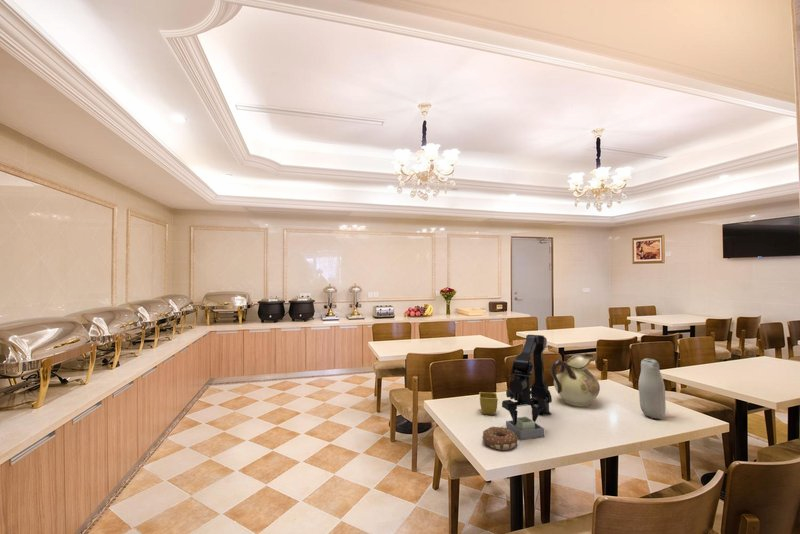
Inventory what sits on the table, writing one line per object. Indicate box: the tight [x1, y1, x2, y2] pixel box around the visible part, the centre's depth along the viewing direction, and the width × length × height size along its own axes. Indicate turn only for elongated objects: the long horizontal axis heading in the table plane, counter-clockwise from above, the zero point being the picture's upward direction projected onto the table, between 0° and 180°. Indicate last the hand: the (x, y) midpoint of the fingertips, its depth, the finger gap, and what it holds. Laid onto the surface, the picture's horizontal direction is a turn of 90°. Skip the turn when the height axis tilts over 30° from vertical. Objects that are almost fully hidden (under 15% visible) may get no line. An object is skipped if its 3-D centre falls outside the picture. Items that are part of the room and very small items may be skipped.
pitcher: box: [550, 353, 601, 408], centre depth 186 cm, size 22×24×25 cm
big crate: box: [505, 419, 545, 441], centre depth 150 cm, size 11×11×4 cm
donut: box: [482, 426, 519, 451], centre depth 140 cm, size 14×14×5 cm
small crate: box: [515, 416, 536, 431], centre depth 150 cm, size 6×6×5 cm
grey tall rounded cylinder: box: [637, 357, 667, 419], centre depth 166 cm, size 10×10×28 cm
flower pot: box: [478, 391, 499, 416], centre depth 173 cm, size 9×9×9 cm
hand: (524, 423), depth 150 cm, fingers open, 9 cm apart
